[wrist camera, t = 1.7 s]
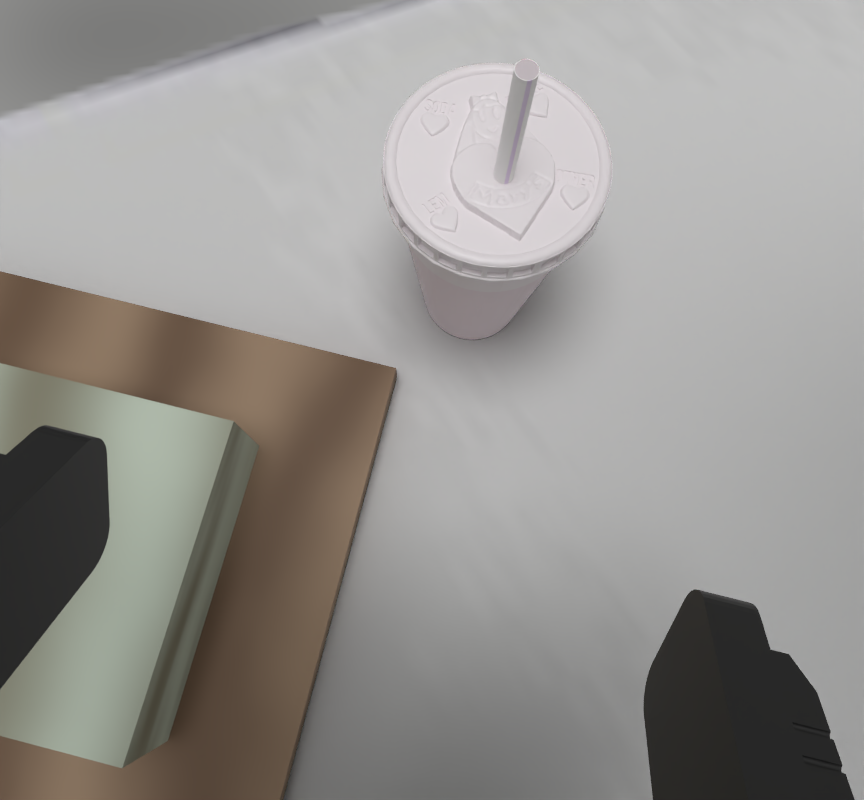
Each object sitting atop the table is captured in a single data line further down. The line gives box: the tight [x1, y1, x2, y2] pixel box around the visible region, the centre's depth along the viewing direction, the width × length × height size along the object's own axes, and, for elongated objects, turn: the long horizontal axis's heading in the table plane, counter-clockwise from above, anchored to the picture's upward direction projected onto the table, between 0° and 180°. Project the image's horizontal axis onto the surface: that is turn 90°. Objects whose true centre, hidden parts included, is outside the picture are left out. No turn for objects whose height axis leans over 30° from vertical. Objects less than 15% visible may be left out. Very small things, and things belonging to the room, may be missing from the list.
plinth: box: [0, 272, 397, 800], centre depth 25 cm, size 18×18×5 cm
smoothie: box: [382, 59, 612, 340], centre depth 23 cm, size 6×6×14 cm
